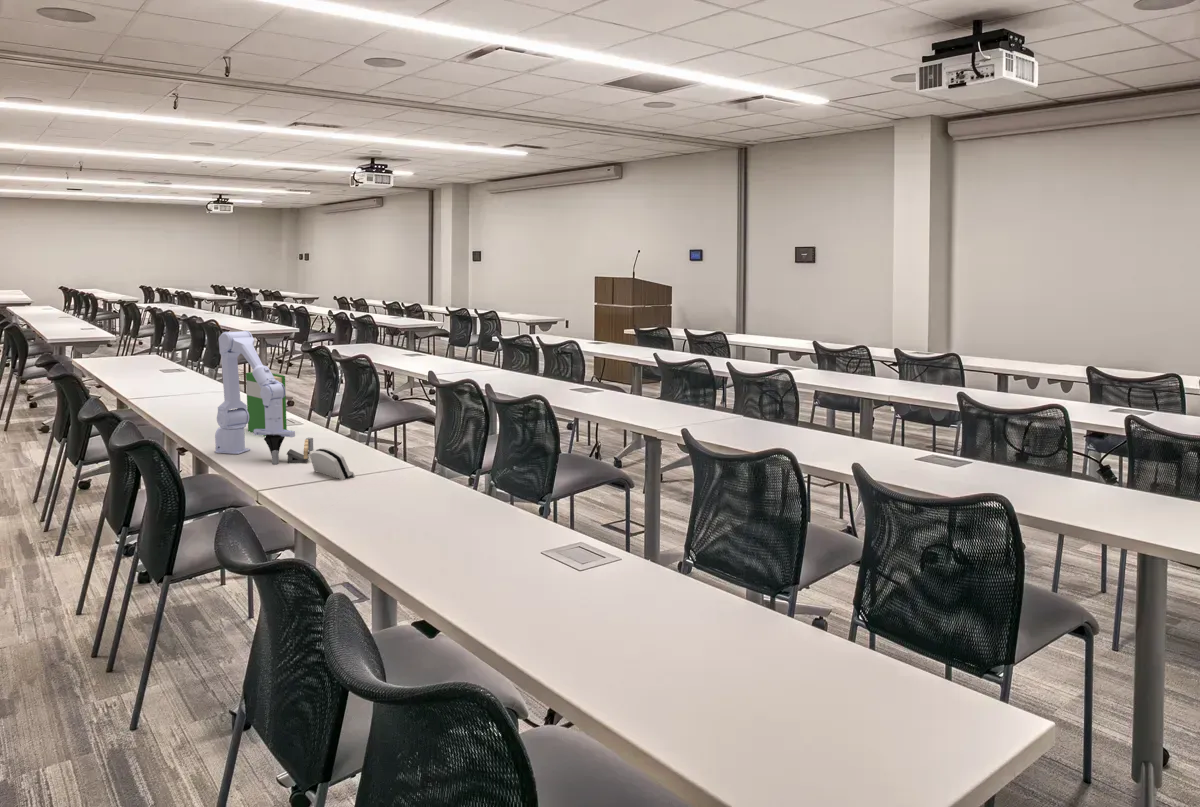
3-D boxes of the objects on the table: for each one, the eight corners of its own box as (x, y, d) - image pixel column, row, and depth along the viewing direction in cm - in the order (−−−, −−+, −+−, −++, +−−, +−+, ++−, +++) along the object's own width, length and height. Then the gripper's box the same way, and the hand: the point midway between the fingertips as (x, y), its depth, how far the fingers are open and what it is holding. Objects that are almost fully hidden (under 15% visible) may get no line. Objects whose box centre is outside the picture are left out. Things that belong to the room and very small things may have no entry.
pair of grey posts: (272, 464, 293) (271, 451, 292) (309, 449, 318) (309, 437, 317) (276, 464, 293) (275, 451, 292) (313, 449, 318) (313, 437, 317)
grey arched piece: (355, 477, 278) (346, 450, 274) (343, 484, 275) (333, 457, 271) (327, 468, 289) (317, 442, 285) (315, 475, 286) (305, 449, 282)
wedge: (308, 460, 301) (308, 448, 301) (306, 463, 296) (305, 451, 296) (289, 460, 300) (289, 448, 299) (286, 463, 295) (286, 451, 295)
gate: (305, 446, 315) (304, 439, 314) (310, 446, 315) (310, 438, 315) (303, 458, 295) (303, 450, 295) (309, 458, 296) (309, 450, 295)
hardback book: (286, 435, 343) (285, 375, 339) (269, 437, 338) (267, 377, 334) (265, 429, 355) (263, 371, 351) (248, 431, 349) (245, 372, 346)
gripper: (247, 418, 294) (249, 457, 296) (287, 420, 292) (288, 459, 294) (259, 415, 301) (260, 453, 303) (297, 417, 299) (298, 455, 301)
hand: (275, 456), depth 299 cm, fingers closed
